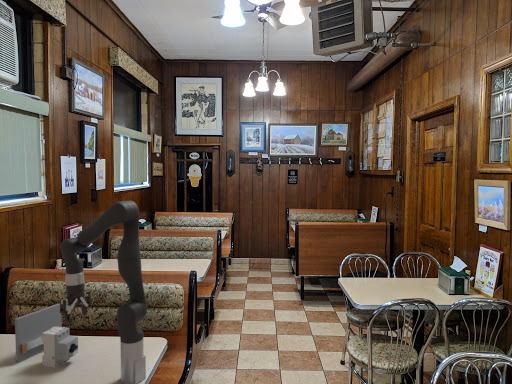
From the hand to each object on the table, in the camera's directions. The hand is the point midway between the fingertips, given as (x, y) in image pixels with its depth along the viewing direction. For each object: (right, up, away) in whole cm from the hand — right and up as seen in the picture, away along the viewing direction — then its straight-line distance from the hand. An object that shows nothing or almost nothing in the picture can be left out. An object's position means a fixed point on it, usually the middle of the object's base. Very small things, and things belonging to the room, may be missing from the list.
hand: (76, 318), depth 165 cm
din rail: (-23, -17, +13) cm, 31 cm away
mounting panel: (-25, -21, +14) cm, 35 cm away
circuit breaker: (-8, -22, +3) cm, 24 cm away
